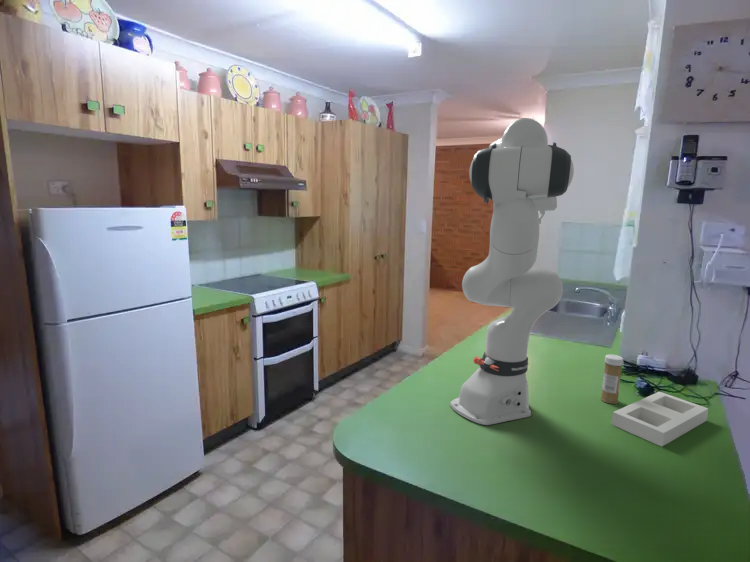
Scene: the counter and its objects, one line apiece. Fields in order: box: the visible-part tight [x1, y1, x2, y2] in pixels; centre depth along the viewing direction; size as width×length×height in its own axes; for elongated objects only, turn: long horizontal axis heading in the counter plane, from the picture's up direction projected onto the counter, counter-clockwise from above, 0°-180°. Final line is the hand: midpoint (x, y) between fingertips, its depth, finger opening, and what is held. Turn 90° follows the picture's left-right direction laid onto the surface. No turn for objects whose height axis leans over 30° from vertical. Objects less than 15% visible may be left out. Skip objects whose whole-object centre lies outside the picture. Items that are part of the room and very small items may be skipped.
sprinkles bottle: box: [600, 354, 624, 405], centre depth 125 cm, size 5×5×13 cm
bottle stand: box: [610, 391, 709, 447], centre depth 114 cm, size 24×12×4 cm, turn 123°
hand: (523, 223), depth 149 cm, fingers open, 8 cm apart
